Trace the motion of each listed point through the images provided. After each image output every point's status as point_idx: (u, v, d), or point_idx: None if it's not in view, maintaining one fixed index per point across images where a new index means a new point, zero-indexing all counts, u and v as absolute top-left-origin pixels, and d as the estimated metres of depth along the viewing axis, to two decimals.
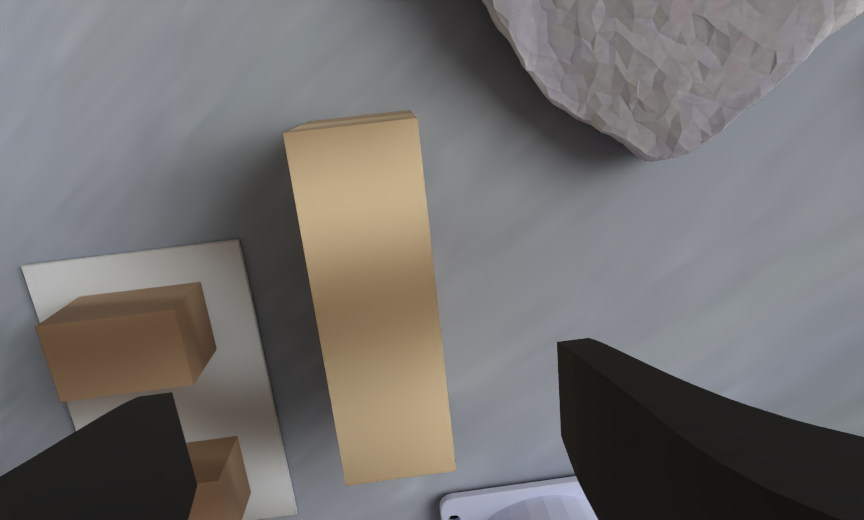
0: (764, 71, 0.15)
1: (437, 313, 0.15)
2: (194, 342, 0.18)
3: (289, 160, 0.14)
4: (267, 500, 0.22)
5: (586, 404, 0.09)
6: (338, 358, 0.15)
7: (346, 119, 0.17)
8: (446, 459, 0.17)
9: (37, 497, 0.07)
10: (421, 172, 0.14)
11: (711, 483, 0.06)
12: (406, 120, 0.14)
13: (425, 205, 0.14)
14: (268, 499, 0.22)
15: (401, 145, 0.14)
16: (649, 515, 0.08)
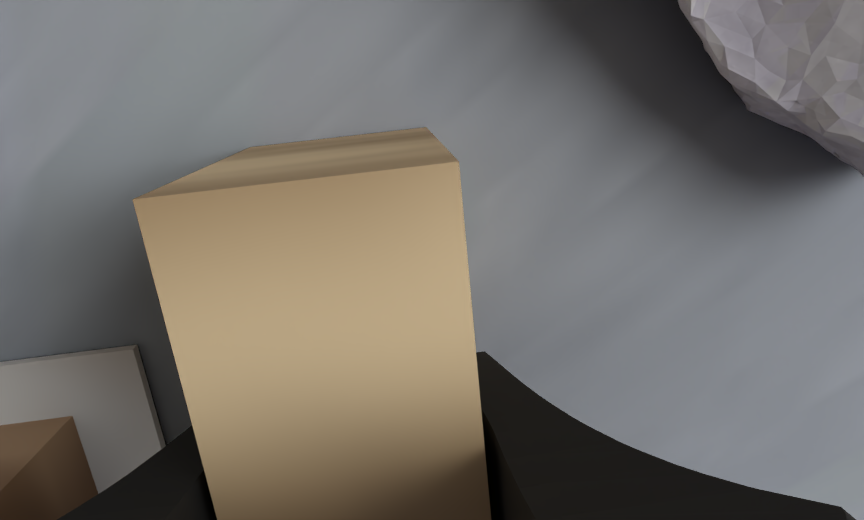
0: None
1: None
2: None
3: (153, 262, 0.06)
4: None
5: None
6: None
7: (309, 148, 0.09)
8: None
9: (201, 475, 0.07)
10: (465, 284, 0.06)
11: (519, 510, 0.06)
12: (432, 167, 0.06)
13: (473, 355, 0.06)
14: None
15: (419, 224, 0.06)
16: None
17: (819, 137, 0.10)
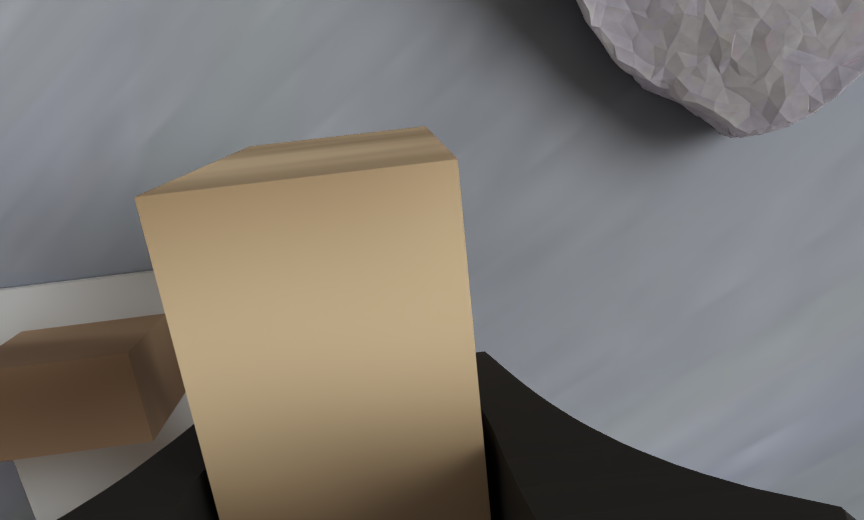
0: None
1: None
2: (155, 388, 0.15)
3: (155, 259, 0.06)
4: None
5: None
6: None
7: (308, 147, 0.09)
8: None
9: (201, 475, 0.07)
10: (464, 280, 0.06)
11: (519, 510, 0.06)
12: (431, 164, 0.06)
13: (472, 351, 0.06)
14: None
15: (418, 223, 0.06)
16: None
17: (687, 105, 0.15)
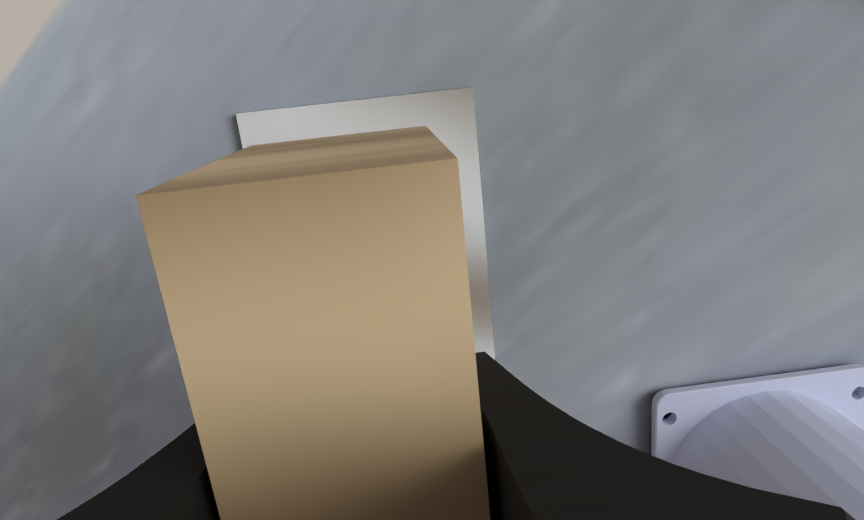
0: None
1: None
2: None
3: (156, 257, 0.06)
4: None
5: None
6: None
7: (309, 146, 0.09)
8: None
9: (200, 475, 0.07)
10: (464, 279, 0.06)
11: (519, 510, 0.06)
12: (431, 163, 0.06)
13: (472, 350, 0.06)
14: None
15: (419, 221, 0.06)
16: None
17: None
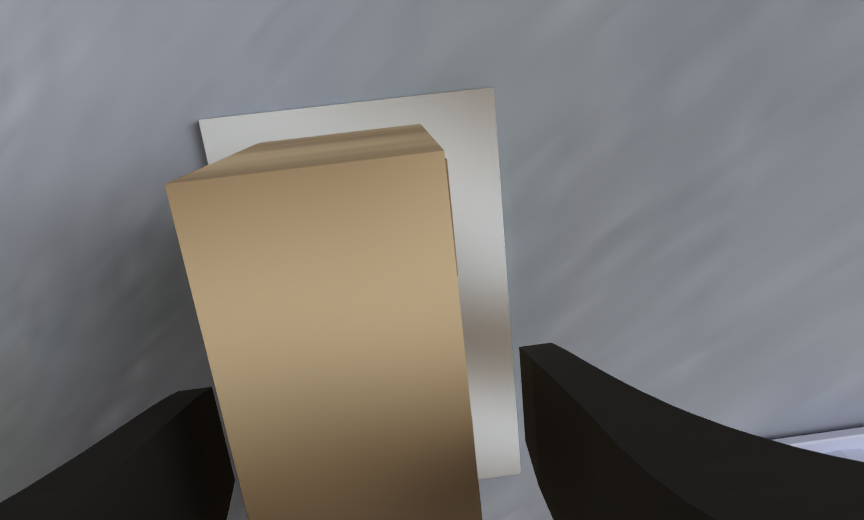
0: None
1: (478, 509, 0.08)
2: None
3: (182, 238, 0.07)
4: (486, 454, 0.17)
5: (543, 410, 0.09)
6: None
7: (313, 143, 0.10)
8: None
9: (97, 489, 0.07)
10: (451, 257, 0.07)
11: (642, 493, 0.06)
12: (422, 155, 0.07)
13: (459, 320, 0.07)
14: (488, 453, 0.17)
15: (410, 206, 0.07)
16: None
17: None
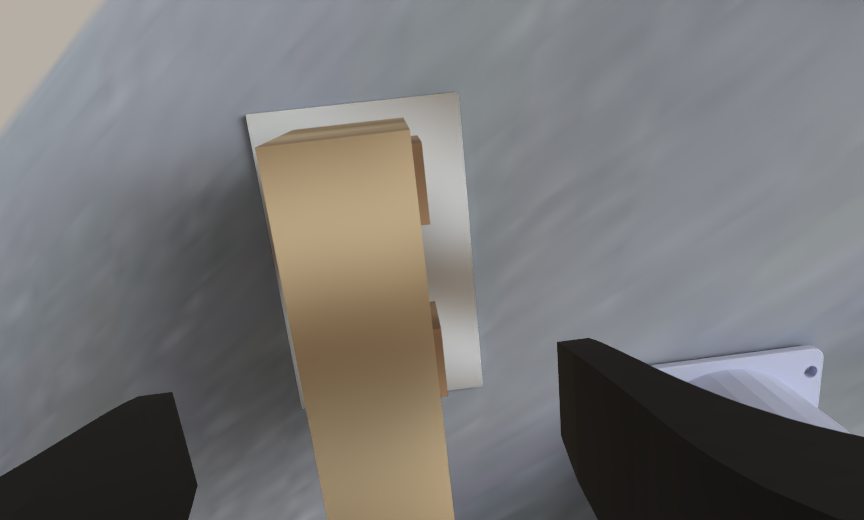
0: None
1: (433, 350, 0.13)
2: None
3: (262, 178, 0.12)
4: (456, 370, 0.22)
5: (586, 404, 0.09)
6: (321, 400, 0.14)
7: (332, 128, 0.15)
8: (444, 510, 0.15)
9: (37, 497, 0.07)
10: (415, 192, 0.12)
11: (712, 483, 0.06)
12: (397, 132, 0.12)
13: (419, 229, 0.12)
14: (457, 369, 0.22)
15: (391, 161, 0.12)
16: (649, 515, 0.08)
17: None
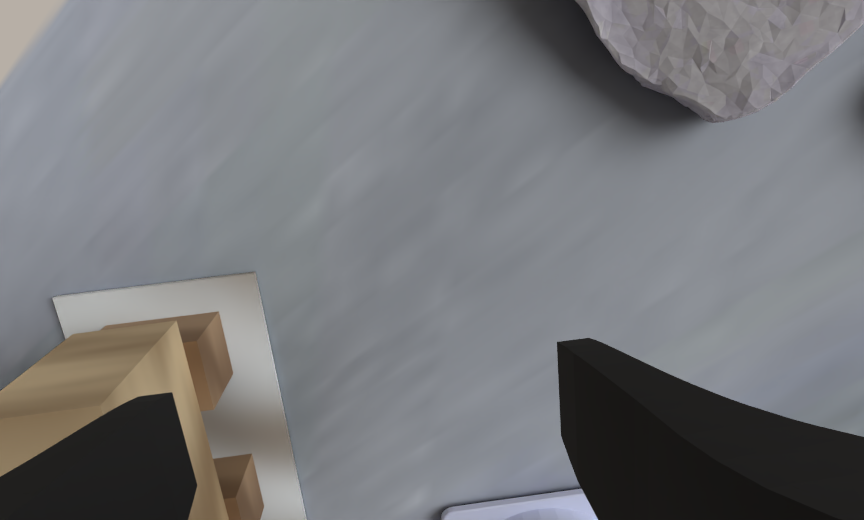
0: (833, 28, 0.16)
1: None
2: (214, 369, 0.19)
3: None
4: (279, 513, 0.23)
5: (586, 404, 0.09)
6: None
7: (87, 352, 0.16)
8: None
9: (37, 497, 0.07)
10: None
11: (712, 483, 0.06)
12: (89, 407, 0.13)
13: None
14: (280, 512, 0.23)
15: None
16: (649, 515, 0.08)
17: (677, 98, 0.19)
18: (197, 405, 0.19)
